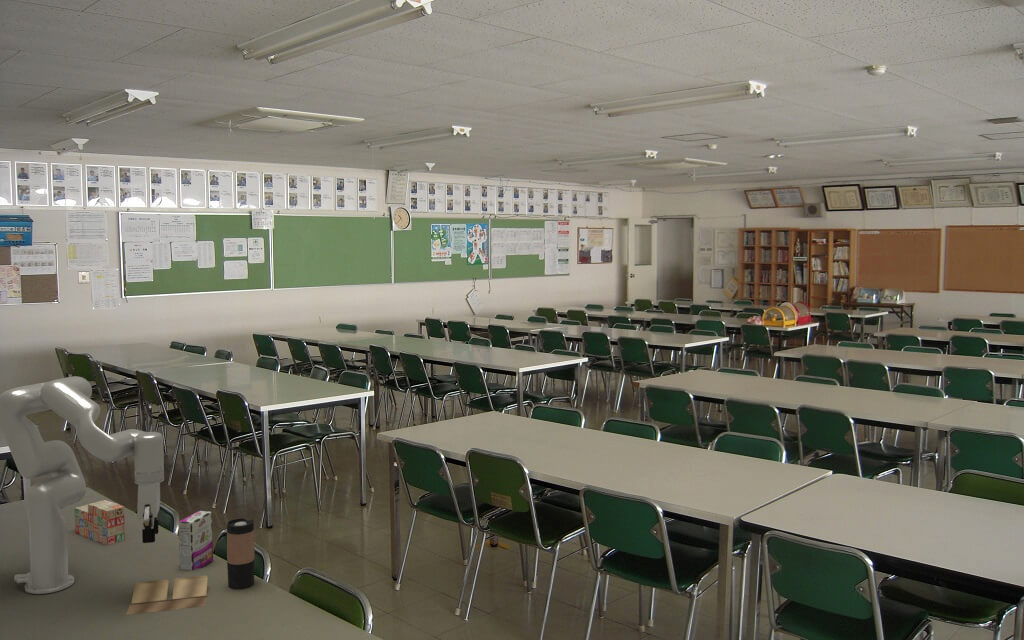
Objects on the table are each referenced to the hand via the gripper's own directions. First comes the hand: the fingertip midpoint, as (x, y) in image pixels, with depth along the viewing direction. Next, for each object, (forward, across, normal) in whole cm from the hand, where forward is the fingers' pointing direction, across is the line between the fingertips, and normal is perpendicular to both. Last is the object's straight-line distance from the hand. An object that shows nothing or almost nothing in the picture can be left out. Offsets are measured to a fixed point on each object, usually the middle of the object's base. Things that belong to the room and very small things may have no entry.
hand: (150, 537), depth 223 cm
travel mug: (+18, 0, +24) cm, 30 cm away
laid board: (+18, +9, +5) cm, 21 cm away
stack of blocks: (+18, -59, -24) cm, 66 cm away
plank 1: (+16, +2, 0) cm, 16 cm away
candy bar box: (+18, -21, +10) cm, 29 cm away
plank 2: (+16, +2, +11) cm, 19 cm away
